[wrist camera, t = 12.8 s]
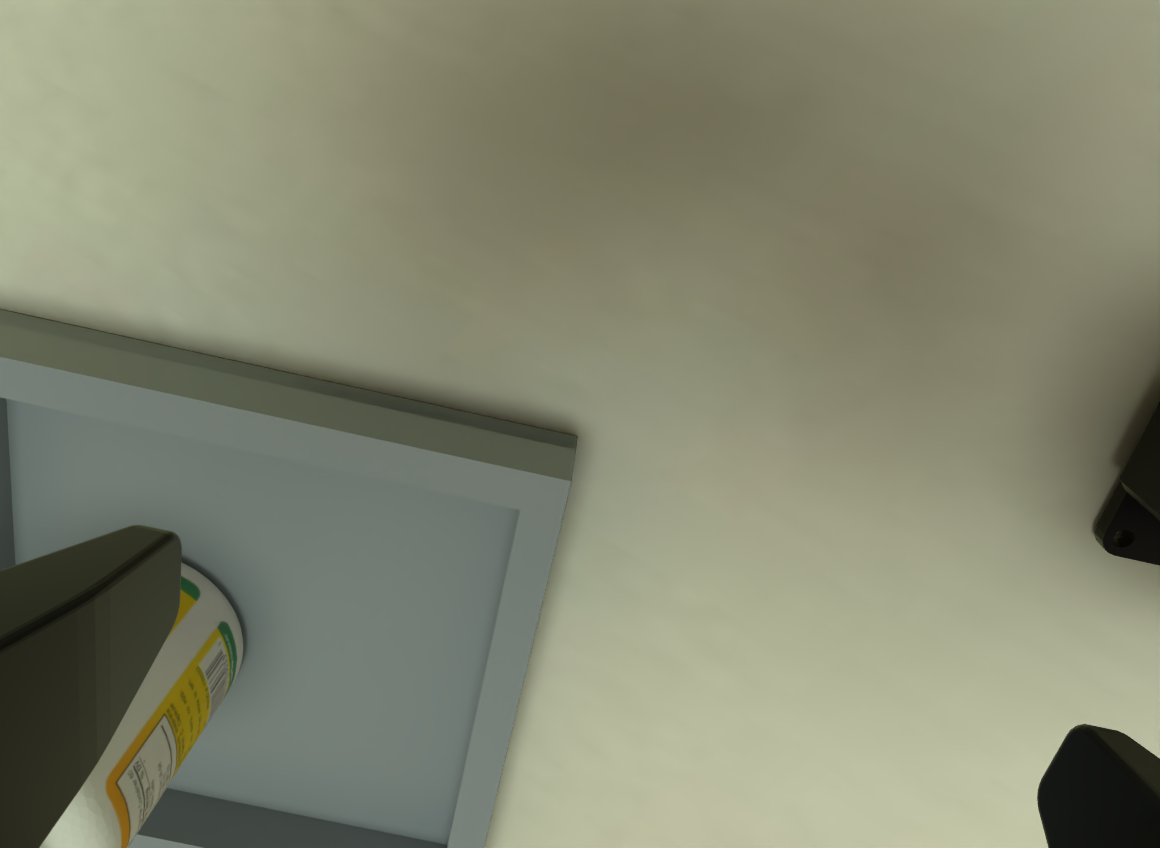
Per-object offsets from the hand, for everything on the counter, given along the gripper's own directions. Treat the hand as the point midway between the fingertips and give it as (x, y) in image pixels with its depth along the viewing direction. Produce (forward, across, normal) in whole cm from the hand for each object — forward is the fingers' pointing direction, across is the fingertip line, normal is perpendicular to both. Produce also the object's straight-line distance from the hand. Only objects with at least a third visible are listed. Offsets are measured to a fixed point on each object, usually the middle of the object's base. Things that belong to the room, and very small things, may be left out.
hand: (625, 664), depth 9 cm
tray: (+13, +8, +11) cm, 19 cm away
